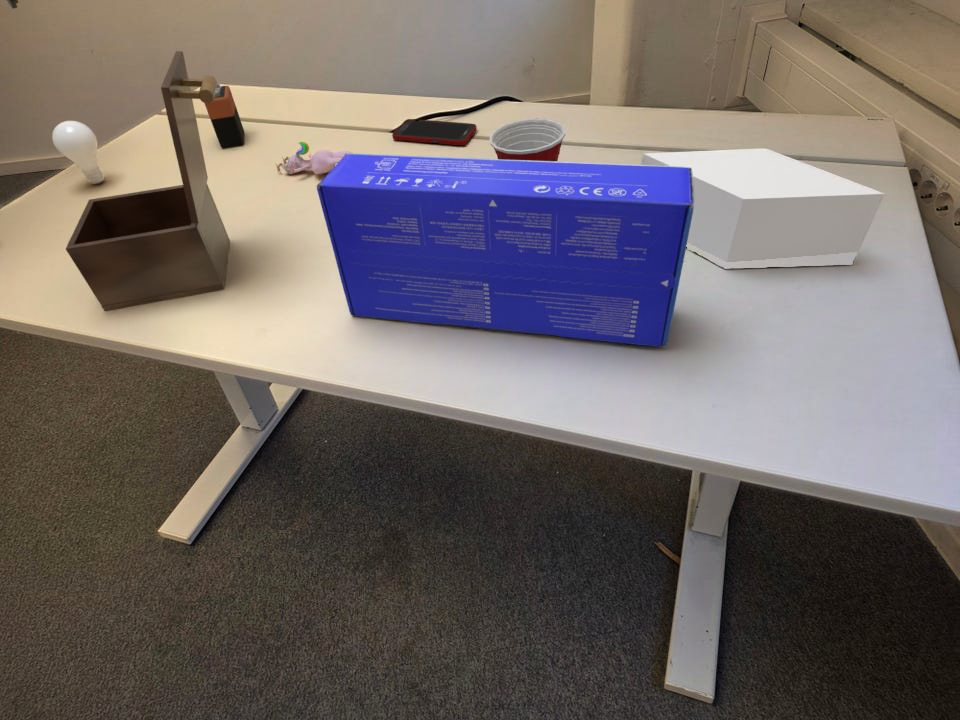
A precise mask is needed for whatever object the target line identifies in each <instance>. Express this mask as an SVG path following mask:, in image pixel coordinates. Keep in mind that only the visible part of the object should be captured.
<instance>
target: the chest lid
mask: <svg viewBox="0 0 960 720" xmlns="http://www.w3.org/2000/svg"><path fill="white" fill-rule="evenodd" d="M187 70H188V69H187V66H186V61H185V56H184V52H183V50H182V51H180V50H179V51H178V50H175V53H174V55H173V57H172V59H171V62H170V65H169V67H168V69H167V72H166V74H165V76H164V78H163V81H162V83H161V86H160V91H161V95H162V99H163V103H164V107H165V112H166V117H167V122H168V125H169V129H170V134H171V138H172V143H173V147H174V151H175V156H176V161H177V164H178V169H179V173H180V177H181V182H182V185H183V187H184V191H185V195H186V200H187V204H188V209H189V213H190V217H191V222H192V224H198V223H199V219H200V214H201V209H202V204H203V199H204V194H205V189H206V184H207V185H208V179H209V177H208V171H207V165H206V162H205V156H204V152H203V147H202V142H201V135H200V131H199V126H198V121H197V116H196V110H195V106H194V101H193V100H200V101H201V103H204V104H205V103H207V104H208V103H211V102H212V101H213V100H214V95H215V91H216V87H217V84H218V81H217V79H216V78H215V76H213V75H211V74H207V75H204V76H203V78H189V76H188V71H187ZM191 87H192V88H193V87H194V88H195V87H196V88H199V90H191Z"/></svg>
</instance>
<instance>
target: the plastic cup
mask: <svg viewBox="0 0 960 720" xmlns="http://www.w3.org/2000/svg"><path fill="white" fill-rule="evenodd" d="M566 133H567V132H566V128H565V126H564V125H563V124H562V123H560V122H558V121H556V120H552V119H547V118H526V119H520V120H515V121H512V122H510V123H505V124H503V125H501V126H499V127H498V128H496V129H495V130H493V132H492V133H491V134H490V135H489V144H490V146H491V147H492V148H493V150H494V153H495V154H496V156H497V159H501V160H528V161H555V162H559V161H558V160H559V156H560V152H561V147H562V143H563V140H564V138H565V137H566Z"/></svg>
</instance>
